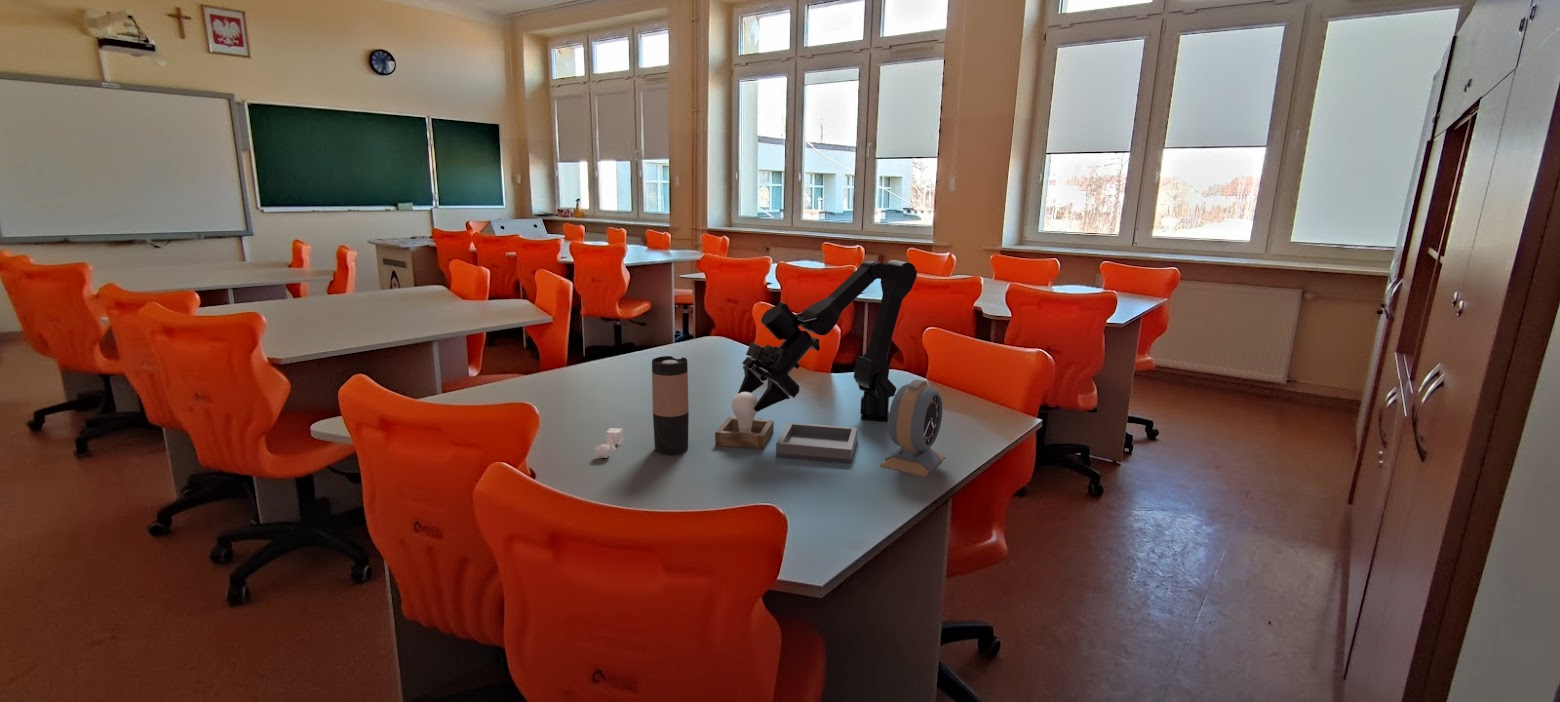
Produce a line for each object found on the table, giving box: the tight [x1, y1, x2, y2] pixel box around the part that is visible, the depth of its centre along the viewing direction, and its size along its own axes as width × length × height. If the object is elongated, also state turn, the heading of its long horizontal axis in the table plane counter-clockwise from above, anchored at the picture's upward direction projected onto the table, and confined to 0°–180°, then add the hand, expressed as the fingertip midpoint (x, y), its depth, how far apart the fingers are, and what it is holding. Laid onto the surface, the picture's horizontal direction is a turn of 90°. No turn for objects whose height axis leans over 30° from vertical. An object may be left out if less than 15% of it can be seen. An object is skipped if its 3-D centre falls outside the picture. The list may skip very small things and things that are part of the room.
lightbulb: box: [731, 392, 759, 433], centre depth 158 cm, size 6×6×11 cm
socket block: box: [714, 416, 775, 450], centre depth 159 cm, size 11×11×3 cm
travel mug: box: [651, 355, 690, 456], centre depth 150 cm, size 8×8×20 cm
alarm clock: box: [879, 379, 946, 477], centre depth 146 cm, size 14×10×18 cm
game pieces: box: [594, 427, 624, 459], centre depth 151 cm, size 12×3×3 cm, turn 178°
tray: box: [775, 421, 859, 464], centre depth 154 cm, size 16×14×3 cm
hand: (746, 404), depth 158 cm, fingers open, 9 cm apart
